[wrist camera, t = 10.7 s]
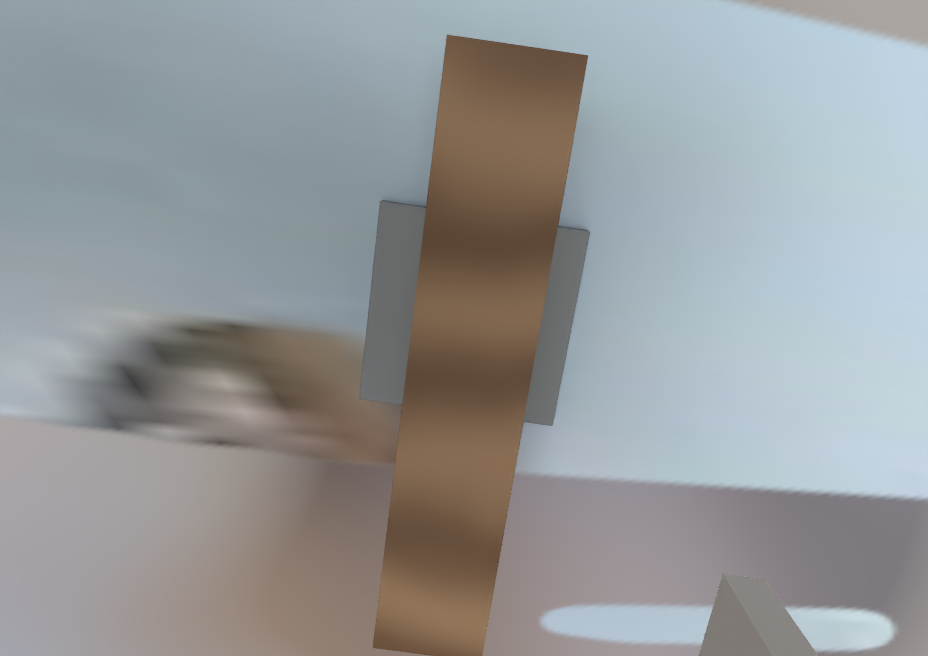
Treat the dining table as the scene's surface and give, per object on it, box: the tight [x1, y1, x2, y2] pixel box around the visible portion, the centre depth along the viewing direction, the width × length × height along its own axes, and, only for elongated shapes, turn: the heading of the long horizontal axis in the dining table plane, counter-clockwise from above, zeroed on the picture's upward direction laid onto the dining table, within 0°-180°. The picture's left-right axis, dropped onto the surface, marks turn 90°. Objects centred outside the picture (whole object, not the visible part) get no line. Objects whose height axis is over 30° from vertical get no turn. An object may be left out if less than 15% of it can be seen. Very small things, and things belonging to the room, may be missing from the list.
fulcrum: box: [359, 201, 590, 426], centre depth 34 cm, size 12×12×8 cm
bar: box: [373, 35, 588, 656], centre depth 28 cm, size 26×5×5 cm, turn 172°
